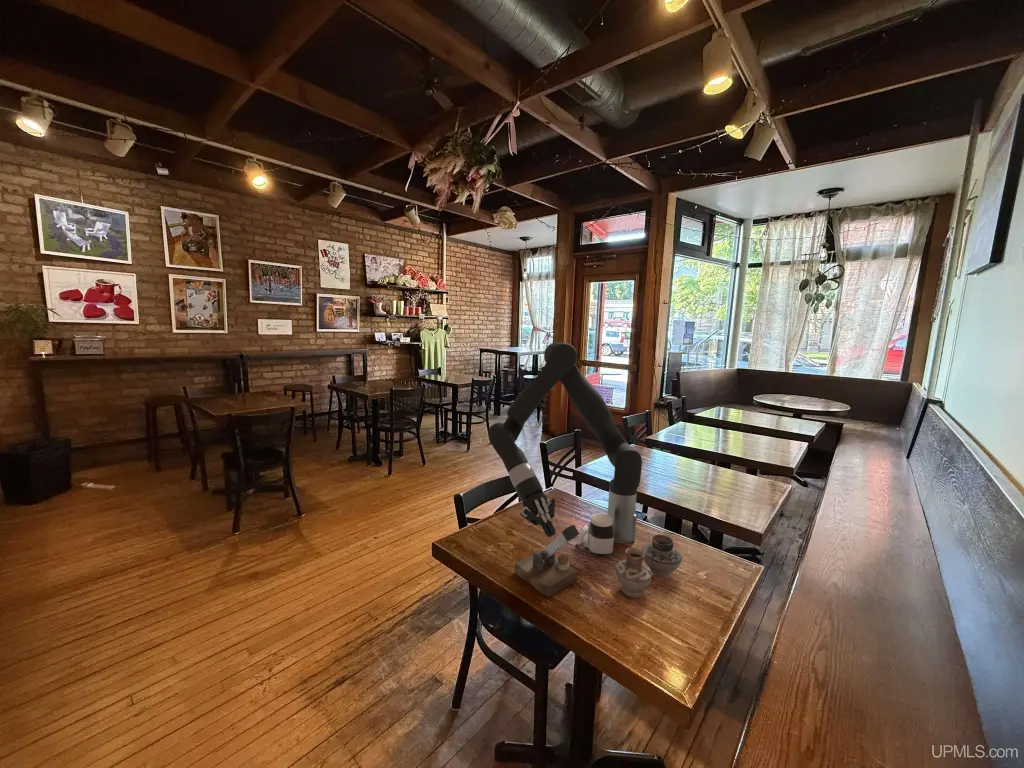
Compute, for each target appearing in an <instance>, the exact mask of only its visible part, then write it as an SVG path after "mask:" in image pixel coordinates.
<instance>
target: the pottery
mask: <svg viewBox="0 0 1024 768" xmlns="http://www.w3.org/2000/svg"><path fill="white" fill-rule="evenodd" d="M625 556H626V559H624V560H621V561H619V562H618V563H616V564H615V569H614V570H615V574H616V577H617V580H618V581H619V583H620V585H621V591H622V592H623V594H624V595H626V596H628V597H629V598H635V599H637V598H641V597H642V596H643V595H644V591H645V590H646V589H647V588H648V586H649V585H650V584H651V581H652V578H653V576H655V577H657V578H661V579H667V578H669V577H670V575H671V574H672V573H673V572H675V571H676V570H677V569H678V568H679V567H680V565H681V563H682V560H683V557H682V554H681V553H680V552H679V551H678V550H677V549H676V548H675V547H674V539H673V538H671V537H670V536H669V535H665V534H659V533H658V534H654V535H652V537H651V542H649V543H646V544H645V545H643V546H642V549H640V548H637V547H628V548H626V549H625ZM643 560H644V561H643ZM643 562H645V563H643Z"/></svg>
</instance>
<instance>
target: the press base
mask: <svg viewBox="0 0 1024 768" xmlns="http://www.w3.org/2000/svg"><path fill="white" fill-rule="evenodd" d="M547 546H548V545H546V546H545V547H544V549H545V548H546V547H547ZM544 549H542V550H539V551H534V552H533V553H532V554H531V555H529V556H528V557H526V558H523V559H521V560H519V561H517V562H515V563H514V573H515V574H516V575H517V576H519V577H520V578H521V579H523V580H524V581H526V582H527V583H528V584H529V585H530V586H532V587H533V588H534V589H536V590H538V592H540V593H541V594H542V595H544V596H545V597H547V598H549V597H551V596H553V595H554V594H556V593H558V592H560V591H561V590H563V589H565V588H567V587H568V586H570V585H573V584H574V583H575V582H577V581H578V570H577V569H575V568H574V567H573V566H571V562H570V561H571V560H569V556H568V555H567V554H566V553H563V552H562V553H560V554H558V557H557V556H556V553H555V554H554V555H553V556H551V557H550V558H548V559H546V560H543V555H541V554H540V552H541V551H543V550H544Z"/></svg>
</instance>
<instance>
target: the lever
mask: <svg viewBox="0 0 1024 768" xmlns="http://www.w3.org/2000/svg"><path fill="white" fill-rule="evenodd" d="M578 535H579V536H580V532H579V530H578V529H577V526H575V524H571V525H570V526H567V527H566V528H565V529H563V530H562V531H561V533H560V534H559V536H557V537H556V538H555V539H554V540H553V541H551V542H550V543H549V544H548V545H546V546H547V547H546V546H545V547H546V548H545V547H544V549H542V550H543V551H542V550H540V551H541V552H540V551H539V552H540V554H541V555H543V560H546V559H548V558H550V557H551V556H553V555H554V554H555V555H556V553H557V552H559V551H560V550H561V549H562V548H563V547H564V546H566V545H567V544H568V543H569V542H571V540H573V539H575V538H576V537H579V536H578Z"/></svg>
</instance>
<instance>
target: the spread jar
mask: <svg viewBox="0 0 1024 768" xmlns="http://www.w3.org/2000/svg"><path fill="white" fill-rule="evenodd" d="M586 534H587V548H588V552H590V554H591V555H593V556H596V557H602V558H603V557H604V558H605V557H609V556H610V555H612V553H613V550H614V543H615V542H614V531H613V526H612V517H611V516H609V515H608V513H602V512H597V513H593V514H592V515H591V516H590V521H589V522H588V525H587V524H585V525H584V526H583V528H582V530H581V531H580V533H579V536H578V538H577V541H576V545H578V546H581V545H582V542H583V541H584V539H585V537H586Z"/></svg>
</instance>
